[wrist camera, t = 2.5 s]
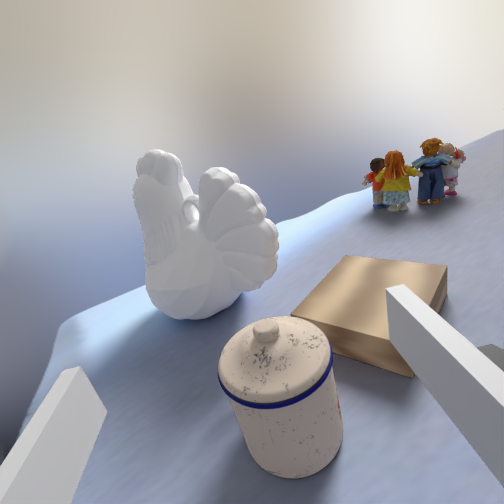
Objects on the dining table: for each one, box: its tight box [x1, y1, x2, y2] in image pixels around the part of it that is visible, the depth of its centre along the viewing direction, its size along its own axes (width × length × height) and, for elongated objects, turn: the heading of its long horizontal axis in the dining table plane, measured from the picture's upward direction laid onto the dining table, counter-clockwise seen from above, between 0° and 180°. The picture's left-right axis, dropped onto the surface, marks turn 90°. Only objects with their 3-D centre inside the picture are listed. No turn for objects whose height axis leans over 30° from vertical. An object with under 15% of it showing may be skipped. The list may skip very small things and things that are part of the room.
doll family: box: [362, 138, 466, 212], centre depth 65 cm, size 21×10×13 cm, turn 82°
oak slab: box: [291, 255, 447, 378], centre depth 38 cm, size 13×15×4 cm
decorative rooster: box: [133, 149, 279, 319], centre depth 44 cm, size 25×16×25 cm, turn 39°
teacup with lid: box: [218, 316, 343, 478], centre depth 27 cm, size 12×9×12 cm
